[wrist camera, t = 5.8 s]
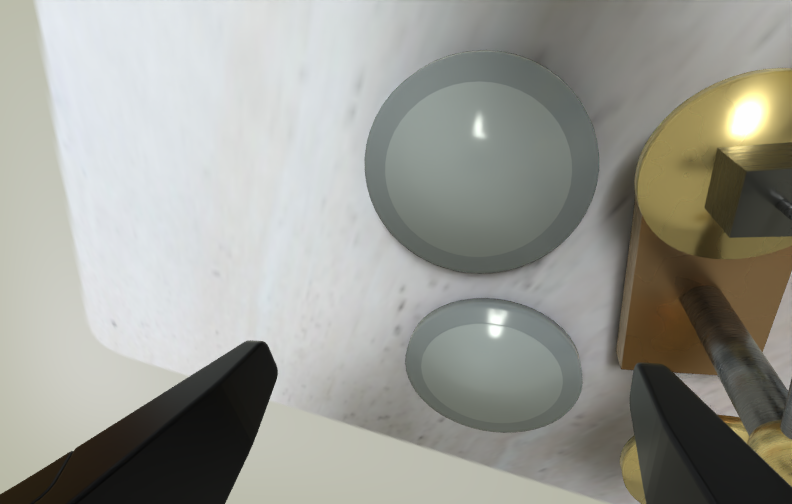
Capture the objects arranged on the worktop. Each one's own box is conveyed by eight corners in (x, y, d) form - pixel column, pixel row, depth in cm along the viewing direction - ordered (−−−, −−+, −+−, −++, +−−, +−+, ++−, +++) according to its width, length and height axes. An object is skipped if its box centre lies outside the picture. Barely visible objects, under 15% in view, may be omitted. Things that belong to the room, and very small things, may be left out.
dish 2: (585, 299, 19) (588, 312, 18) (576, 428, 23) (578, 442, 23) (396, 296, 22) (392, 307, 21) (420, 412, 26) (417, 424, 25)
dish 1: (605, 29, 14) (609, 32, 13) (588, 262, 18) (591, 274, 17) (350, 69, 16) (342, 73, 16) (389, 264, 21) (385, 274, 20)
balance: (634, 74, 14) (777, 180, 6) (863, 45, 12) (1463, 143, 4) (597, 412, 22) (639, 638, 15) (731, 424, 21) (859, 689, 13)
